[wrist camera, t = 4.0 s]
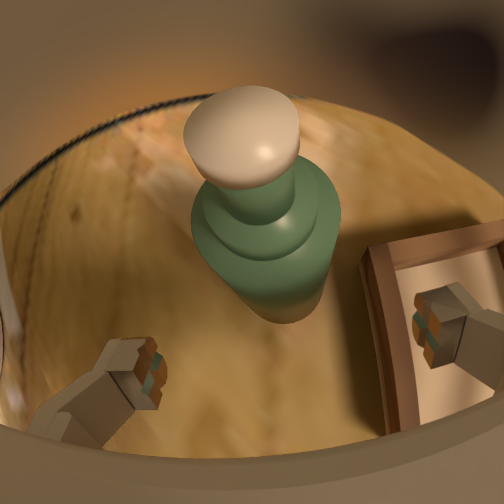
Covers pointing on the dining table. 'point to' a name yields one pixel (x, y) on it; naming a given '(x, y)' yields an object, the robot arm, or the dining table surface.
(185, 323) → the dining table surface
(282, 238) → the bottle
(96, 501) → the robot arm
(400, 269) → the u rest
